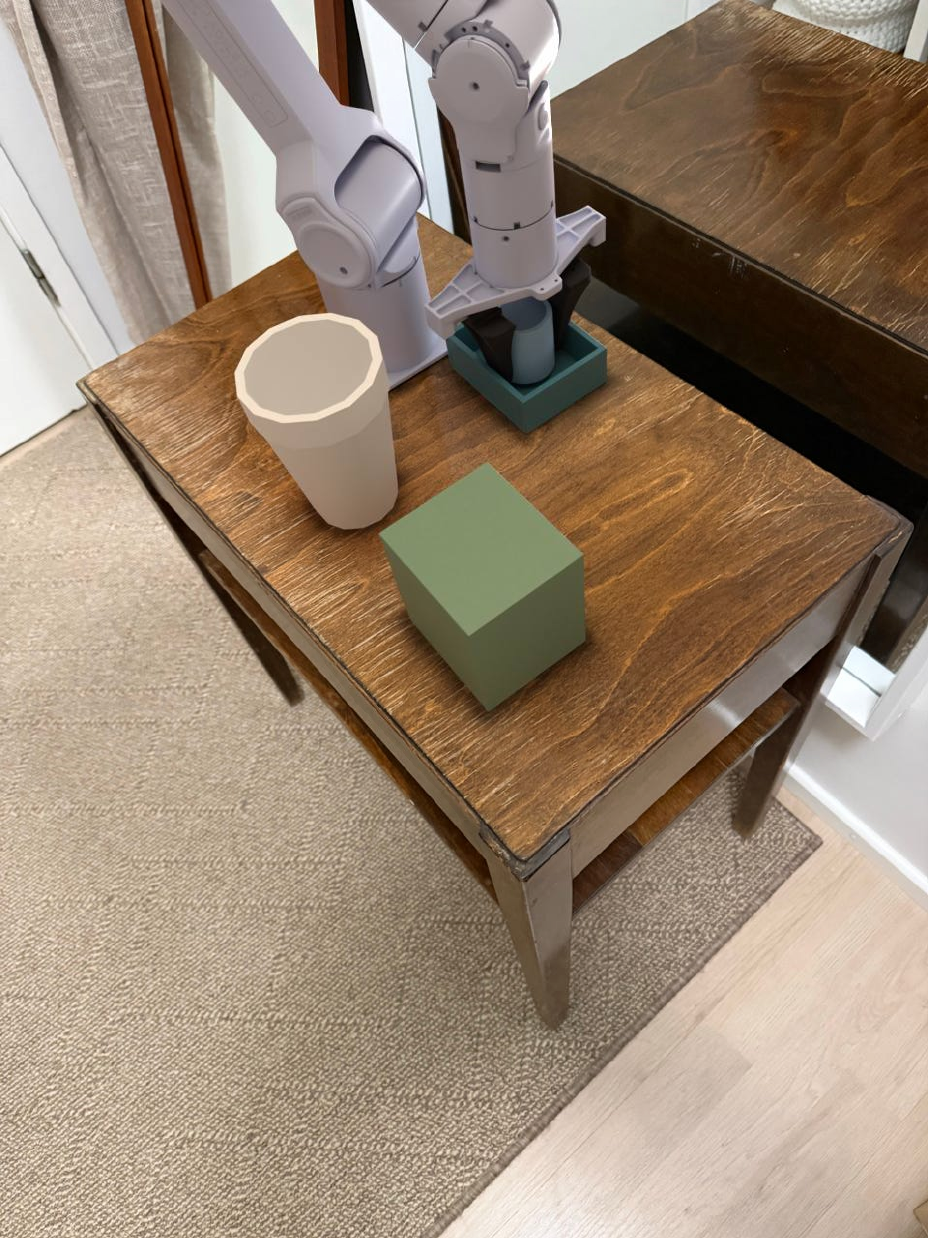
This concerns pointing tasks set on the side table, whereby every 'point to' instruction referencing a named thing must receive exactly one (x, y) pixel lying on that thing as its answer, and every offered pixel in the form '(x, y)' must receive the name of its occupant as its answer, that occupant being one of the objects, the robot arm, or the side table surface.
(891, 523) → the side table surface
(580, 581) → the sage green cube
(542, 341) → the blue cup
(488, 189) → the robot arm
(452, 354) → the bin
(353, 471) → the foam cup
